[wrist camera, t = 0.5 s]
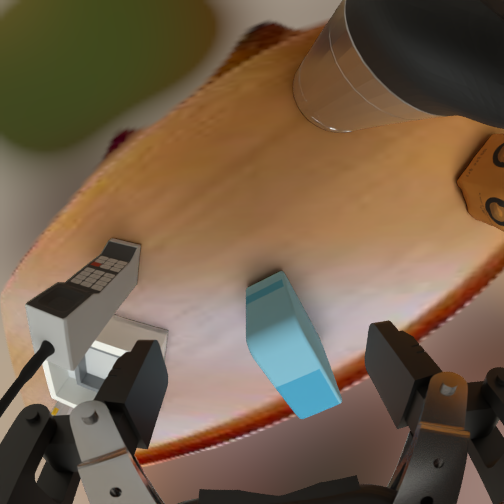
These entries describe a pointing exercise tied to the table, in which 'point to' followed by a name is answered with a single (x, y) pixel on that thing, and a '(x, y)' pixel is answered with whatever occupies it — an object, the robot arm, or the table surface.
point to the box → (99, 360)
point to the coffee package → (486, 183)
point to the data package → (289, 347)
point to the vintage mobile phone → (77, 311)
